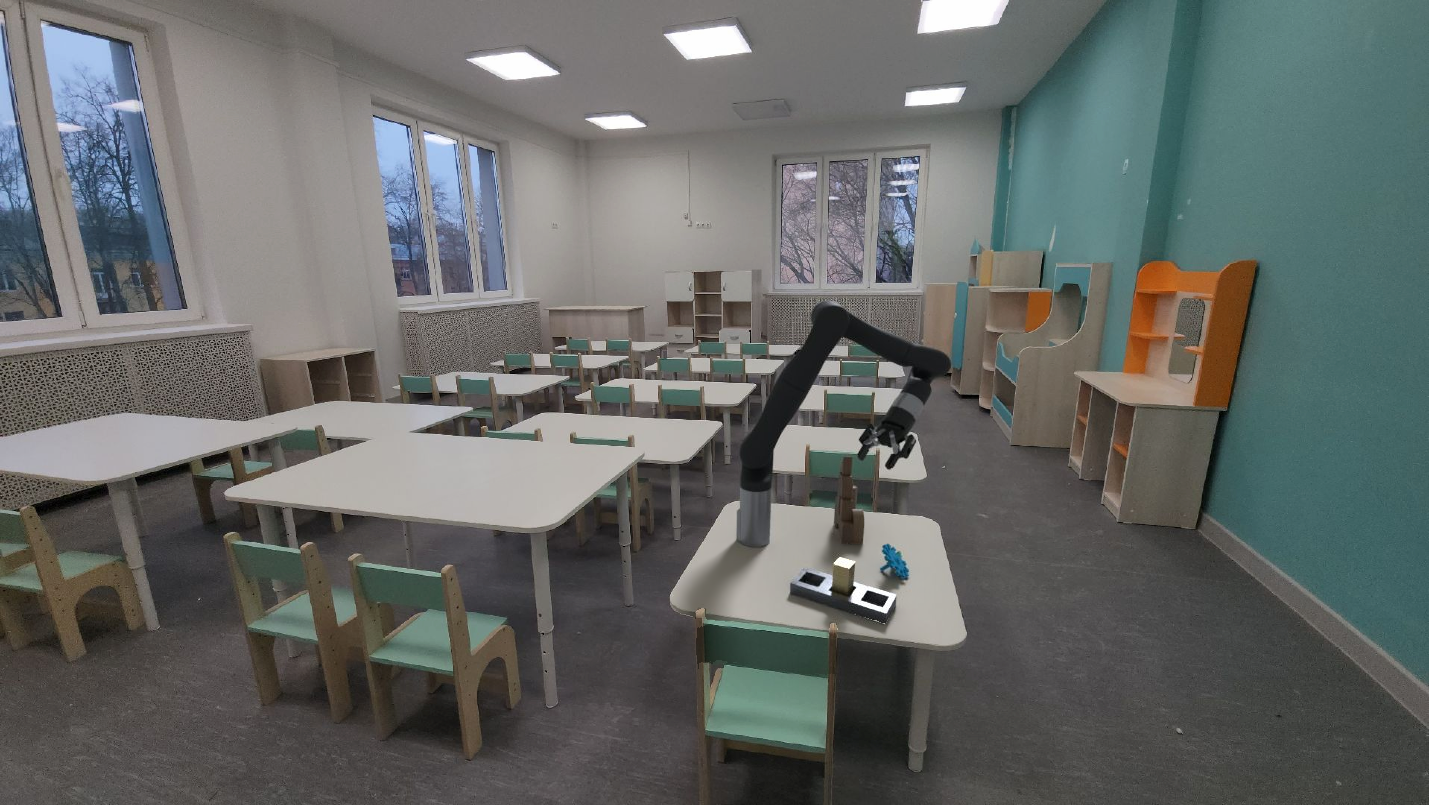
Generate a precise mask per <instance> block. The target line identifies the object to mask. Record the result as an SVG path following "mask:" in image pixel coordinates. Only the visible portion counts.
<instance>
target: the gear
mask: <svg viewBox="0 0 1429 805" xmlns="http://www.w3.org/2000/svg"><path fill="white" fill-rule="evenodd" d="M881 547H882V549H881V552H882V553H883V555H884V556H883V559H884V560H885V561H886V564H884V565H883V566H881V567H879V571H880V572H885V570H887V569H889V568H890V570H893V569H895V571H894V574H895V575H896V576H899V575H900V578H901V579H903V580H904V579H906V578H908V577H909V576H910V574H909V573H910V569H909V568H908V567H907V562H906V561H905V560H903V556H902V552H901V550H898V551H897V549H896V547H894V546H891V544H890V543H885V544H883V545H882V546H881Z"/></svg>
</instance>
